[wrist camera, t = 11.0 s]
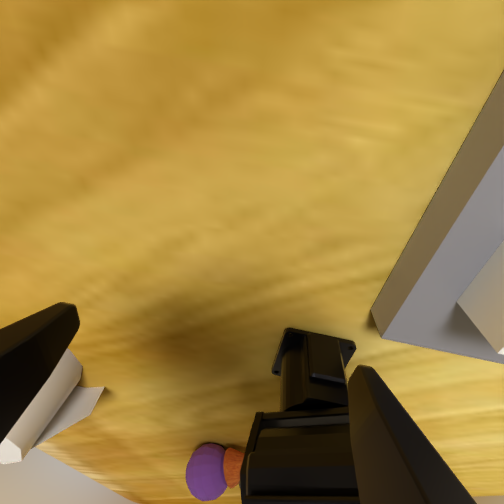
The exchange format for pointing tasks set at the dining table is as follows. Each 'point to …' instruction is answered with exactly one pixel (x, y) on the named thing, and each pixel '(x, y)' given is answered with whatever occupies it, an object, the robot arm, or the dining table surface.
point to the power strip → (456, 254)
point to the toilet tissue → (51, 410)
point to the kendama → (213, 471)
